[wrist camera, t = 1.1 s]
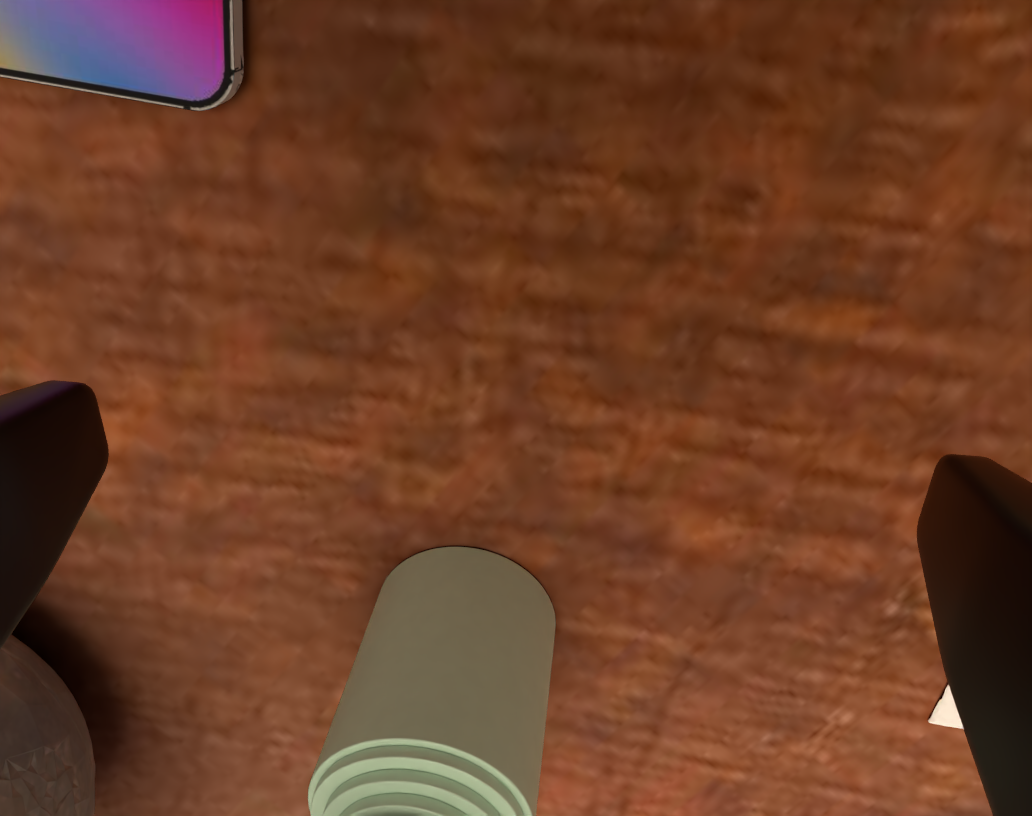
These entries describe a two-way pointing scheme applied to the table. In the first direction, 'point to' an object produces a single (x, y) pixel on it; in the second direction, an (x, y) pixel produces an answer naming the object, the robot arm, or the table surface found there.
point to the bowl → (41, 740)
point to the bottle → (443, 694)
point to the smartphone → (127, 48)
